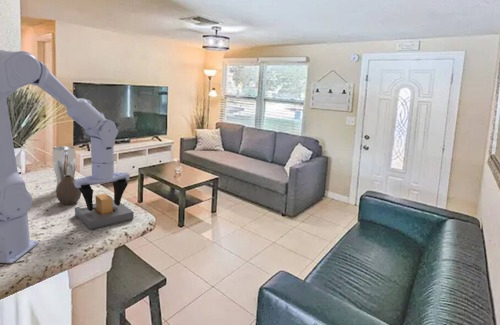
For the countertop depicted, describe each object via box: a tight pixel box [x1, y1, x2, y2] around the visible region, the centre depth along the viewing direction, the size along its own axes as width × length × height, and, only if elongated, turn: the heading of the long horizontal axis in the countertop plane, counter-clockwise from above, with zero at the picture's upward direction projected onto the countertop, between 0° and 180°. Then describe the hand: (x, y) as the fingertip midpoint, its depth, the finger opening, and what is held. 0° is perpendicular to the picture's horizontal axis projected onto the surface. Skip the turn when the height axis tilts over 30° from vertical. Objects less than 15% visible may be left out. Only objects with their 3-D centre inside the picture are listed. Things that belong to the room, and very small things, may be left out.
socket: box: [74, 199, 135, 231], centre depth 95 cm, size 12×12×3 cm
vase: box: [55, 175, 82, 206], centre depth 103 cm, size 7×7×9 cm
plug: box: [95, 193, 113, 215], centre depth 94 cm, size 4×3×6 cm, turn 45°
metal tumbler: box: [52, 145, 77, 190], centre depth 113 cm, size 7×7×15 cm
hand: (104, 207), depth 95 cm, fingers open, 7 cm apart
